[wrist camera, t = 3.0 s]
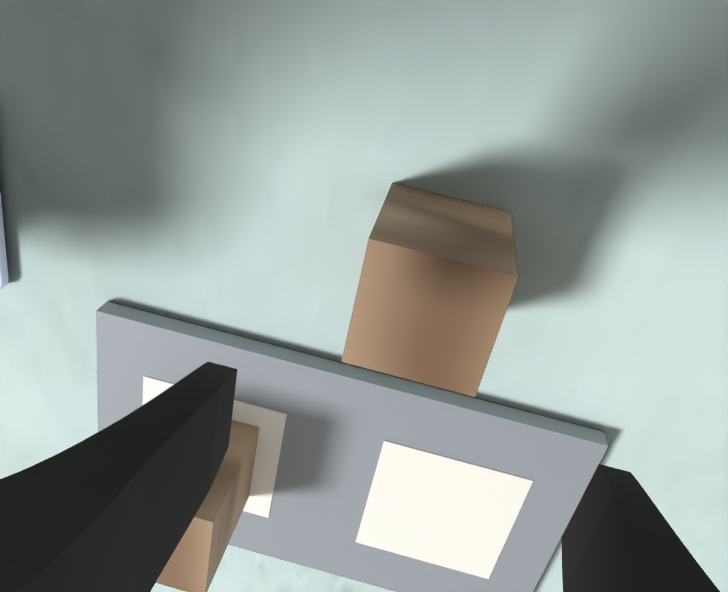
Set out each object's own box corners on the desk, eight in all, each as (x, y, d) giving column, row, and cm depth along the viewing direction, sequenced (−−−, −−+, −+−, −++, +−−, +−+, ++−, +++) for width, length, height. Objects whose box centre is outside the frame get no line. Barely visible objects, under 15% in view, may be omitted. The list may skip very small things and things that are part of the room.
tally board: (108, 495, 30) (98, 509, 29) (107, 301, 25) (95, 311, 24) (514, 609, 29) (515, 626, 28) (604, 432, 24) (608, 446, 23)
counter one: (162, 472, 27) (101, 567, 23) (166, 401, 25) (100, 490, 21) (249, 496, 27) (204, 597, 23) (259, 427, 25) (213, 522, 21)
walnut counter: (368, 286, 22) (341, 361, 18) (392, 182, 21) (368, 238, 16) (476, 314, 22) (474, 397, 18) (510, 211, 20) (518, 276, 16)
